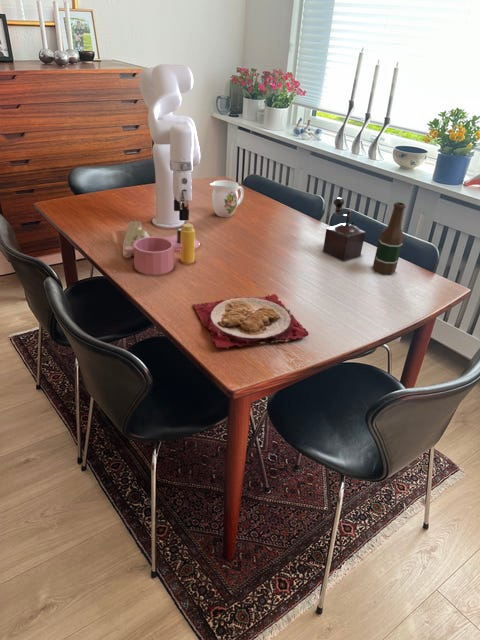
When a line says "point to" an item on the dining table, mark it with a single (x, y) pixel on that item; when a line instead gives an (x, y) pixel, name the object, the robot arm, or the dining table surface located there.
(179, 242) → the lid
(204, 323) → the plate with food
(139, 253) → the pot
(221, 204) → the pitcher
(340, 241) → the coffee grinder
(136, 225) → the cheese
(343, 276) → the dining table surface
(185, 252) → the yellow stepped cylinder
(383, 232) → the beer bottle
